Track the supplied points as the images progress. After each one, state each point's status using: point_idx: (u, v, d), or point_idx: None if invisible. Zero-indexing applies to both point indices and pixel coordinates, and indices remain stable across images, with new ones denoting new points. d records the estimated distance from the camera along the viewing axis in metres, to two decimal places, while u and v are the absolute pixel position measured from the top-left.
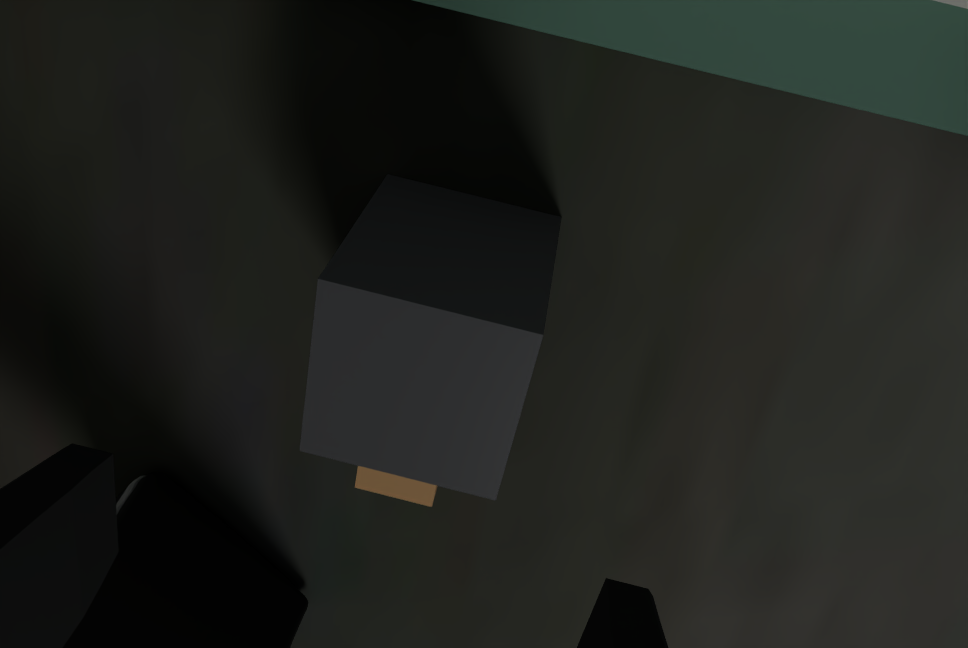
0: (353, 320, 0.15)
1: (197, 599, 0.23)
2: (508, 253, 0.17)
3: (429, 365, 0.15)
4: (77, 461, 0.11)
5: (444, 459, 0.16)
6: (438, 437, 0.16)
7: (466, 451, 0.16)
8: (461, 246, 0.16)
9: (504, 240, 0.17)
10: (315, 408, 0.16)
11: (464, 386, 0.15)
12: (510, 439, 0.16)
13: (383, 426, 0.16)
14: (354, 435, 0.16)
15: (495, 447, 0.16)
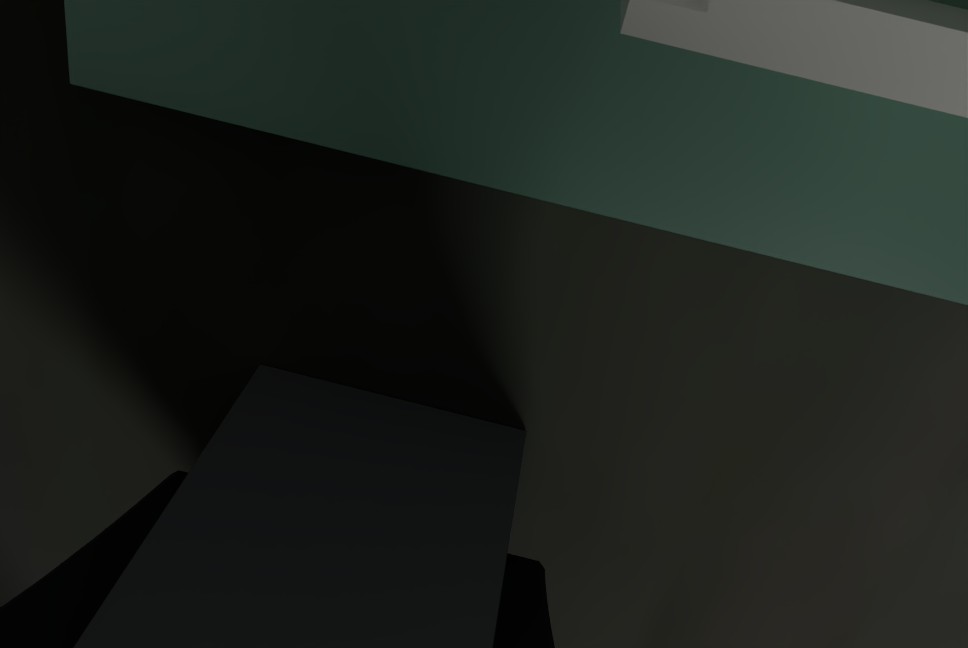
0: None
1: None
2: (432, 531, 0.10)
3: None
4: None
5: None
6: None
7: None
8: (354, 526, 0.10)
9: (429, 499, 0.11)
10: None
11: None
12: None
13: None
14: None
15: None
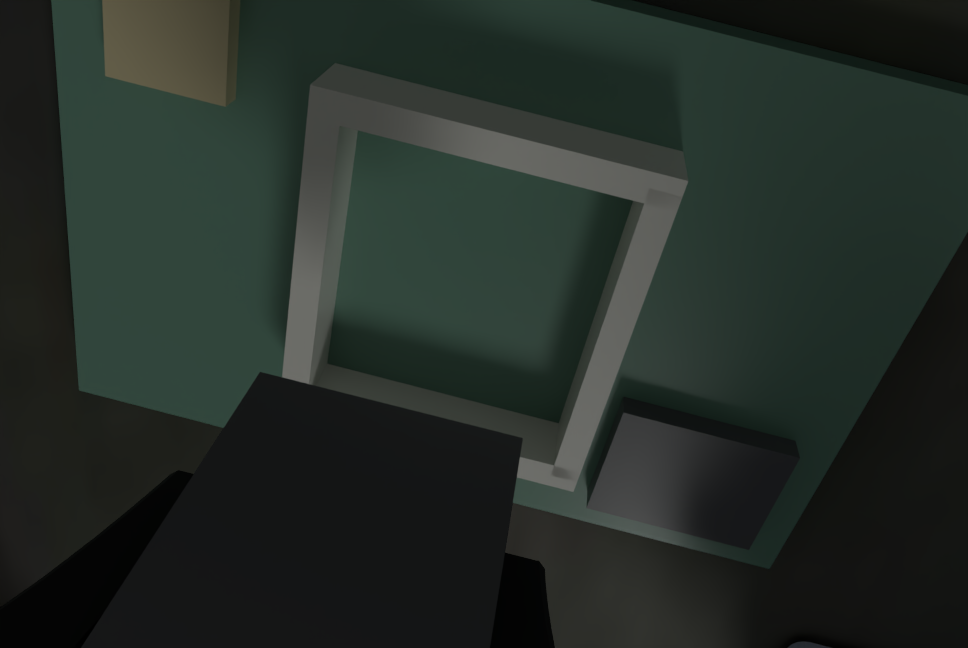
0: None
1: None
2: (430, 539, 0.10)
3: None
4: None
5: None
6: None
7: None
8: (354, 532, 0.10)
9: (427, 506, 0.11)
10: None
11: None
12: None
13: None
14: None
15: None
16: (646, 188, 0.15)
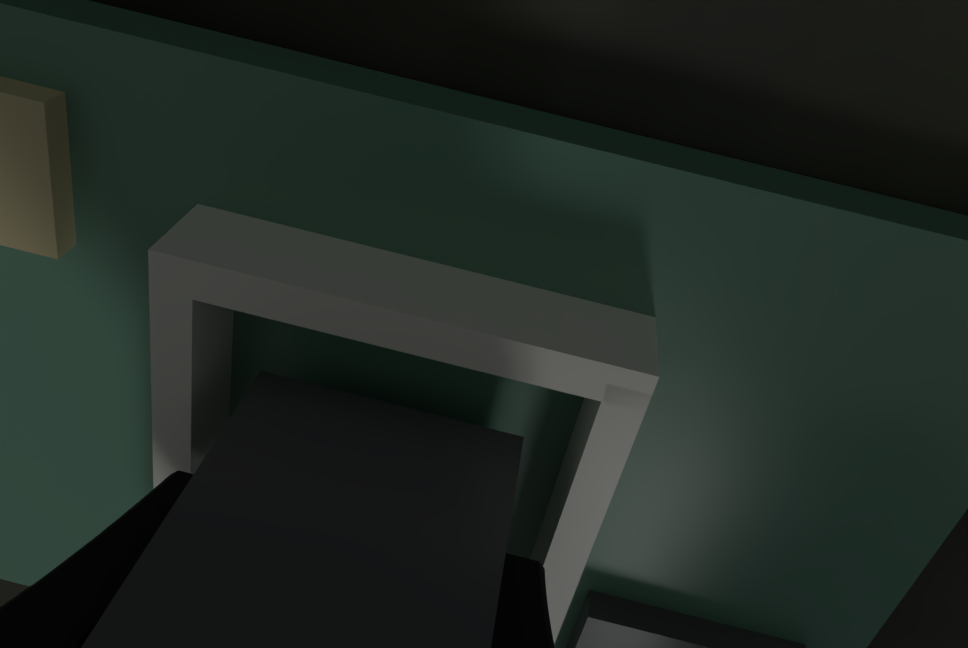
0: None
1: None
2: (431, 537, 0.10)
3: None
4: None
5: None
6: None
7: None
8: (354, 531, 0.10)
9: (428, 503, 0.11)
10: None
11: None
12: None
13: None
14: None
15: None
16: (603, 384, 0.11)
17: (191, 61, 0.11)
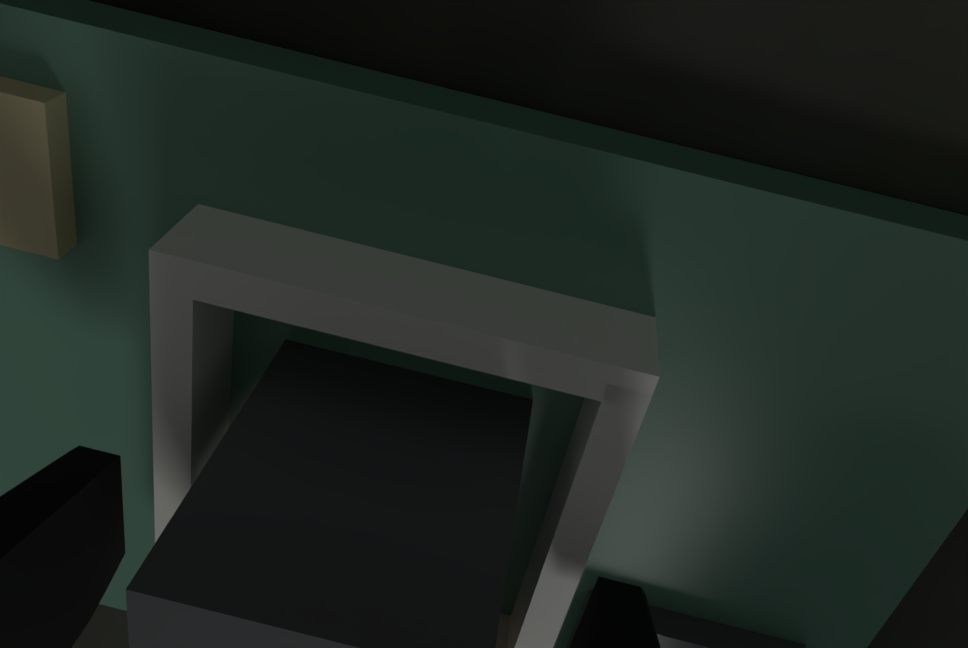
0: (189, 644, 0.09)
1: None
2: (448, 487, 0.11)
3: None
4: (85, 462, 0.11)
5: None
6: None
7: None
8: (377, 481, 0.11)
9: (444, 458, 0.12)
10: None
11: None
12: None
13: None
14: None
15: None
16: (603, 384, 0.11)
17: (192, 61, 0.11)
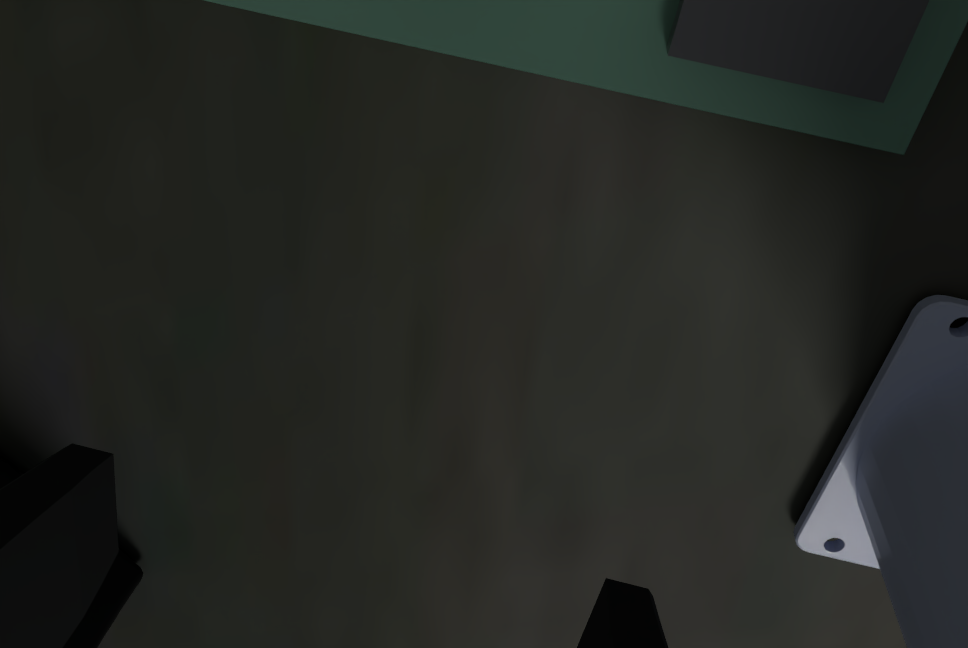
0: None
1: None
2: None
3: None
4: (77, 461, 0.11)
5: None
6: None
7: None
8: None
9: None
10: None
11: None
12: None
13: None
14: None
15: None
16: None
17: None
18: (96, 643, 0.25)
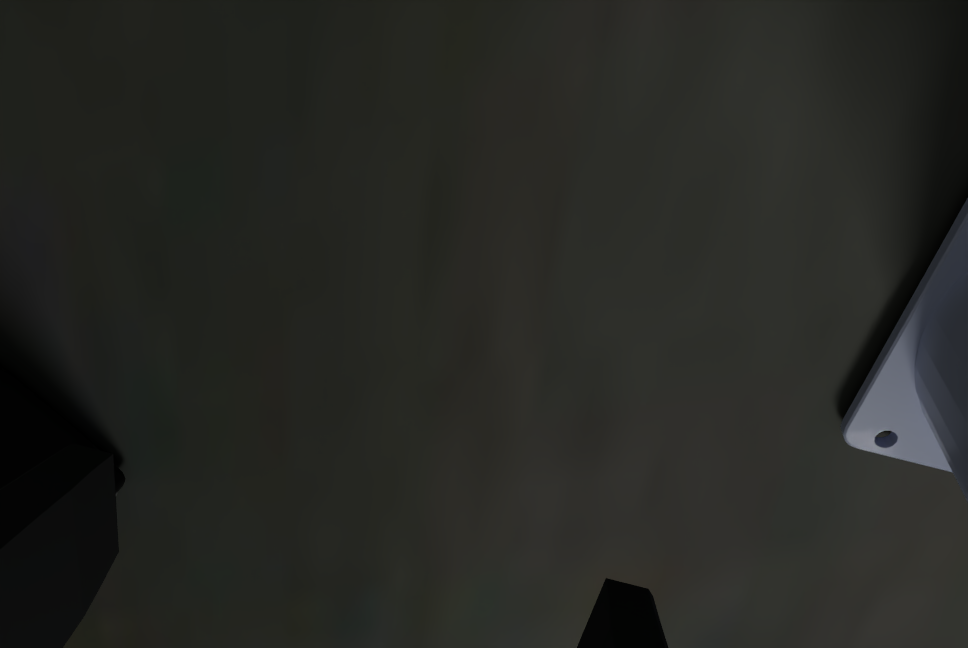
0: None
1: None
2: None
3: None
4: (77, 460, 0.11)
5: None
6: None
7: None
8: None
9: None
10: None
11: None
12: None
13: None
14: None
15: None
16: None
17: None
18: None
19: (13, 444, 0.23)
